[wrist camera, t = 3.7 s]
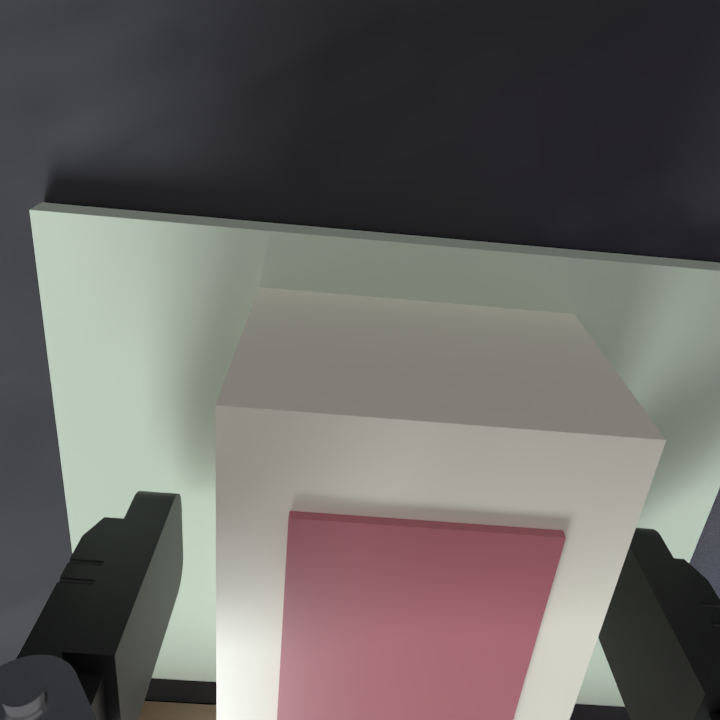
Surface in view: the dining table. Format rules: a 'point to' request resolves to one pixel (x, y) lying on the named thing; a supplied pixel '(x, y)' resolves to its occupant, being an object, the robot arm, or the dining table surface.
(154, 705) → the tray
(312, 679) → the card deck
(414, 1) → the dining table surface
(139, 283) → the mat
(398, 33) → the dining table surface
